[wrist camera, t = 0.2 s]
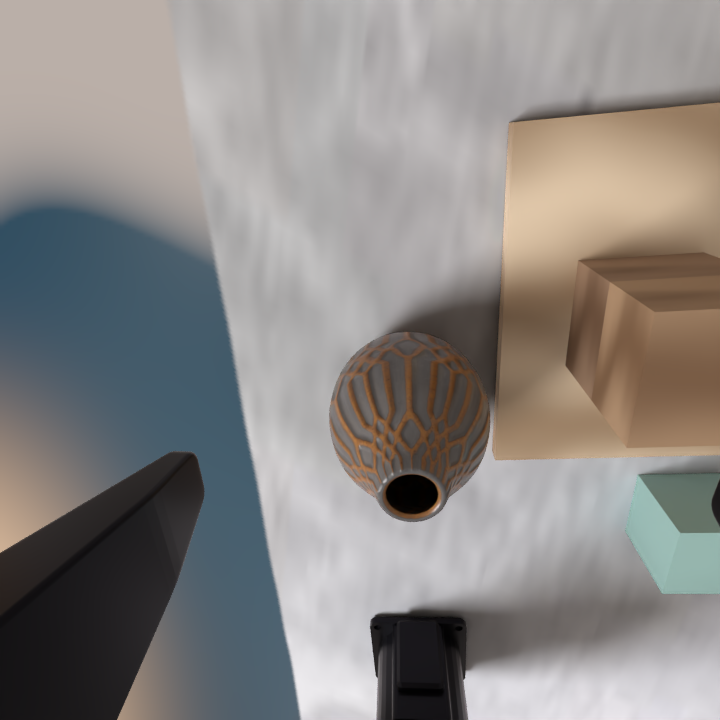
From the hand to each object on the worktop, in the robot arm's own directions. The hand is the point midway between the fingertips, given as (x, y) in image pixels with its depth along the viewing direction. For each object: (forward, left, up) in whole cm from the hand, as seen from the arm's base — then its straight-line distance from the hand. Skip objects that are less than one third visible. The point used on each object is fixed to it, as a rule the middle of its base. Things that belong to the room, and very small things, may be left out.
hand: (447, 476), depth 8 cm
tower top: (-2, -9, -10) cm, 14 cm away
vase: (-6, +1, -15) cm, 16 cm away
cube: (-14, -14, -15) cm, 25 cm away
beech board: (-2, -10, -14) cm, 18 cm away
